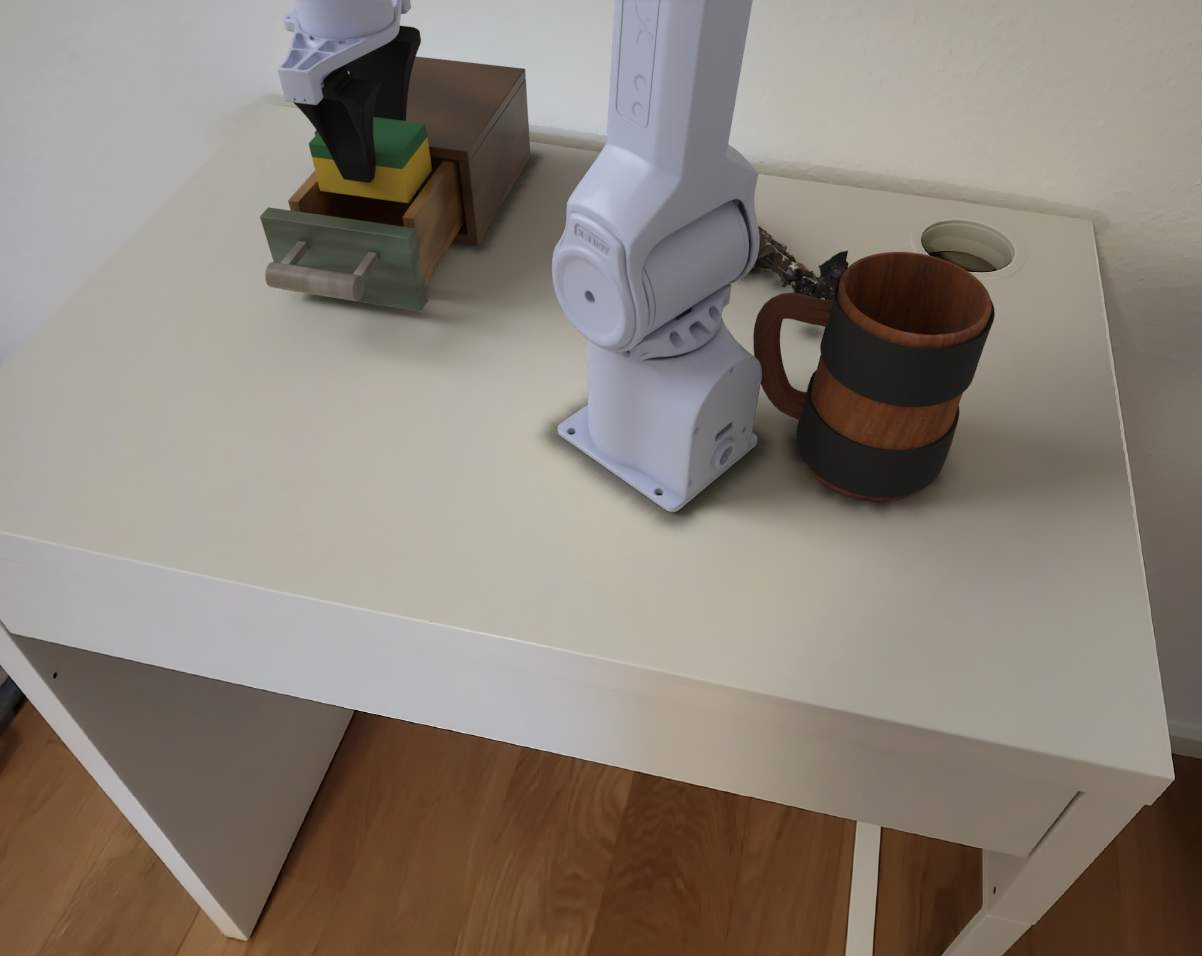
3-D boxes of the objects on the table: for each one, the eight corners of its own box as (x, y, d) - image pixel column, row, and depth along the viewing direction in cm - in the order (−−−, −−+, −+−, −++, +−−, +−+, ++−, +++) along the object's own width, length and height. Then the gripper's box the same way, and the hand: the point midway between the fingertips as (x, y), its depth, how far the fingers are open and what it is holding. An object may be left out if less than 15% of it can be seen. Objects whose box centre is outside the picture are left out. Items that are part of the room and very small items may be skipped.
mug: (752, 381, 59) (778, 221, 51) (945, 421, 57) (1006, 260, 48) (723, 475, 54) (746, 314, 45) (935, 524, 51) (1002, 362, 43)
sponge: (408, 203, 62) (400, 155, 60) (319, 191, 63) (307, 143, 61) (432, 170, 65) (425, 123, 63) (347, 159, 66) (337, 111, 64)
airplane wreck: (824, 356, 61) (840, 286, 57) (651, 228, 71) (655, 162, 67) (884, 324, 63) (904, 255, 59) (709, 205, 74) (716, 139, 69)
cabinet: (478, 246, 70) (467, 151, 64) (336, 225, 72) (313, 131, 66) (530, 157, 79) (525, 68, 73) (403, 141, 80) (388, 52, 75)
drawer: (397, 351, 60) (381, 277, 56) (251, 327, 62) (225, 253, 57) (481, 214, 71) (474, 143, 67) (356, 197, 73) (340, 126, 68)
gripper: (323, -104, 59) (363, 104, 69) (203, -21, 49) (270, 207, 59) (427, -95, 57) (453, 115, 67) (325, -9, 48) (373, 222, 58)
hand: (374, 159), depth 63 cm, fingers closed on sponge, 4 cm apart
